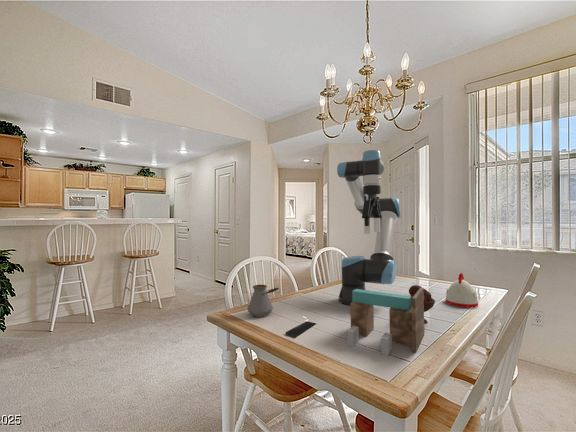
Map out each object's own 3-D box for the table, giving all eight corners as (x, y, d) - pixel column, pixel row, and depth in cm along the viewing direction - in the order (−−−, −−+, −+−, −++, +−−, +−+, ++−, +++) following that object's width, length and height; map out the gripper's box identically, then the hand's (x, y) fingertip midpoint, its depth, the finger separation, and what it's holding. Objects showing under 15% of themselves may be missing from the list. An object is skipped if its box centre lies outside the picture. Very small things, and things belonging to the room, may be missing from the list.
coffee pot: (243, 313, 132) (242, 280, 133) (264, 308, 139) (264, 277, 139) (266, 327, 115) (266, 290, 115) (290, 321, 121) (290, 285, 122)
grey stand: (347, 348, 96) (347, 330, 96) (353, 343, 100) (352, 325, 100) (387, 358, 89) (387, 339, 89) (391, 352, 93) (391, 333, 93)
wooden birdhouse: (386, 349, 95) (386, 294, 95) (398, 332, 108) (397, 284, 108) (416, 356, 90) (415, 298, 90) (424, 338, 103) (423, 287, 103)
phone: (323, 325, 115) (301, 337, 103) (323, 328, 115) (301, 340, 103) (306, 321, 120) (284, 332, 108) (306, 323, 120) (284, 335, 108)
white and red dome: (442, 303, 144) (442, 273, 144) (449, 298, 154) (449, 269, 154) (475, 309, 134) (474, 277, 134) (480, 302, 145) (479, 273, 145)
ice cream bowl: (423, 328, 112) (423, 289, 112) (400, 319, 122) (400, 284, 122) (441, 323, 117) (440, 286, 117) (417, 315, 127) (417, 281, 127)
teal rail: (352, 315, 108) (352, 291, 108) (356, 311, 111) (356, 288, 111) (409, 325, 97) (409, 299, 97) (412, 321, 100) (411, 295, 100)
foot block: (350, 335, 106) (350, 303, 106) (358, 328, 113) (358, 297, 113) (366, 339, 103) (366, 305, 103) (373, 331, 109) (373, 300, 110)
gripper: (371, 182, 116) (372, 234, 116) (387, 186, 137) (388, 231, 137) (353, 183, 120) (354, 234, 120) (371, 188, 141) (372, 231, 141)
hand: (372, 232), depth 129 cm, fingers open, 13 cm apart
